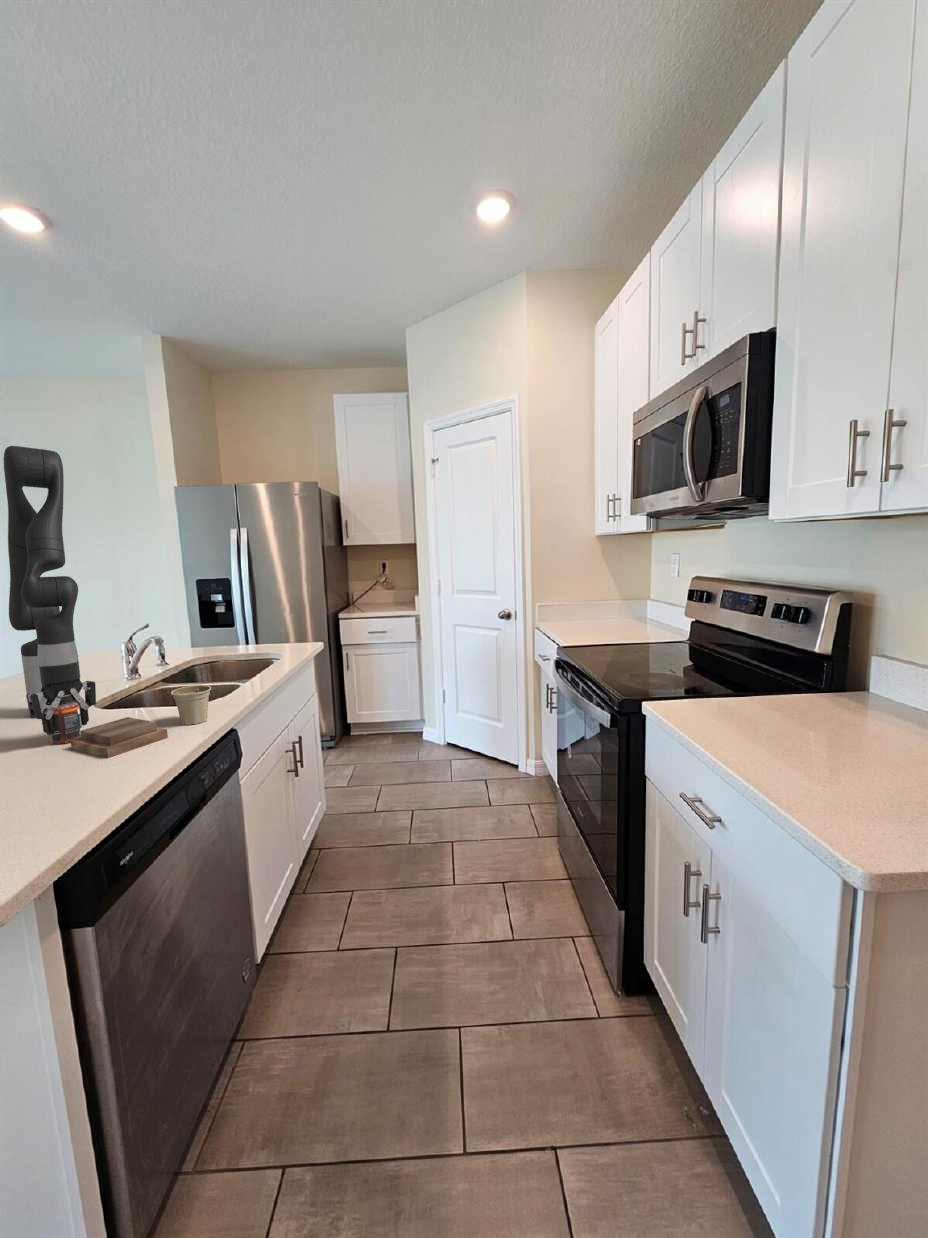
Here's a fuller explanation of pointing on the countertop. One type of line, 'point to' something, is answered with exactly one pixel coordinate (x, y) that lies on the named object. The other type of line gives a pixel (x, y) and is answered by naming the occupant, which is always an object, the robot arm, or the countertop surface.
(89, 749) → the base
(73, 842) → the countertop surface
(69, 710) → the supplement bottle
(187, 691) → the flower pot
